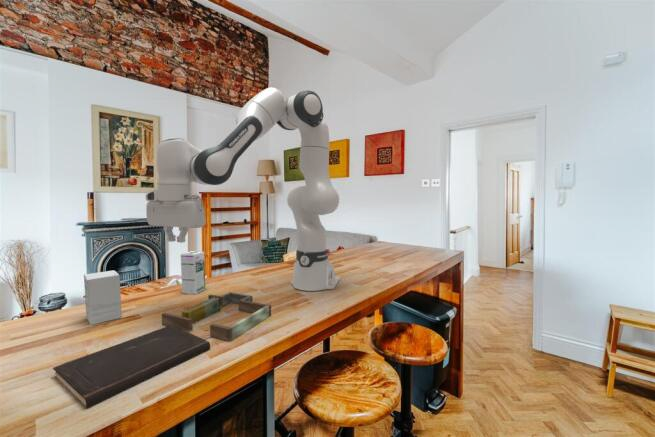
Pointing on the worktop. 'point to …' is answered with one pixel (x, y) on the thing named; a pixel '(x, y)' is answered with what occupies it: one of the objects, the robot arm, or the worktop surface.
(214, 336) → the trap corral
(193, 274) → the syrup box
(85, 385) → the hardcover book
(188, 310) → the medication box
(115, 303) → the supplement box
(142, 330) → the worktop surface
